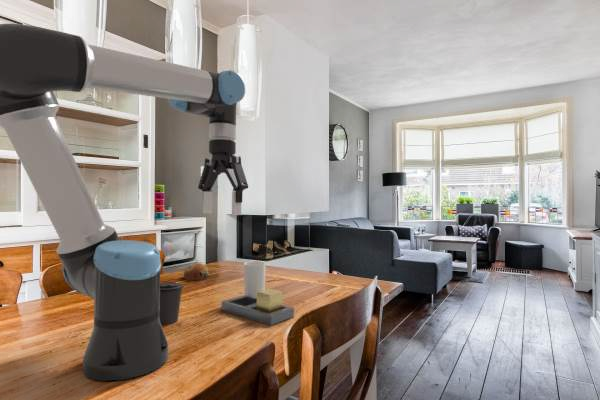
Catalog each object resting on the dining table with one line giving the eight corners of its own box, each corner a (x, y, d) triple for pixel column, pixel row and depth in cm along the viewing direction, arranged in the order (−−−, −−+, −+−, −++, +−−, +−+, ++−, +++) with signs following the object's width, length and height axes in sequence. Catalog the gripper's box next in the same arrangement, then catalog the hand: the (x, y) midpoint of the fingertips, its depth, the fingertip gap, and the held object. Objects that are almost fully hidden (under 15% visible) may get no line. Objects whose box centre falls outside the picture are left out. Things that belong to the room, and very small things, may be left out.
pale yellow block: (269, 321, 96) (269, 295, 96) (256, 317, 99) (256, 291, 99) (282, 316, 100) (282, 291, 100) (269, 313, 103) (269, 288, 103)
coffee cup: (165, 328, 89) (165, 288, 89) (143, 323, 93) (144, 284, 93) (189, 319, 96) (190, 282, 96) (168, 314, 100) (169, 278, 100)
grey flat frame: (271, 325, 92) (271, 315, 92) (221, 309, 105) (221, 301, 105) (293, 317, 99) (293, 307, 99) (244, 303, 112) (244, 295, 112)
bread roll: (204, 283, 153) (200, 265, 155) (215, 277, 146) (211, 258, 148) (182, 287, 146) (178, 268, 148) (192, 280, 139) (189, 260, 142)
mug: (258, 305, 110) (258, 266, 110) (239, 302, 113) (239, 264, 113) (273, 297, 119) (273, 260, 119) (255, 294, 122) (255, 259, 122)
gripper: (261, 137, 98) (260, 215, 98) (208, 145, 115) (207, 212, 115) (240, 133, 93) (239, 216, 93) (187, 142, 109) (186, 212, 109)
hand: (221, 214), depth 104 cm, fingers open, 13 cm apart
